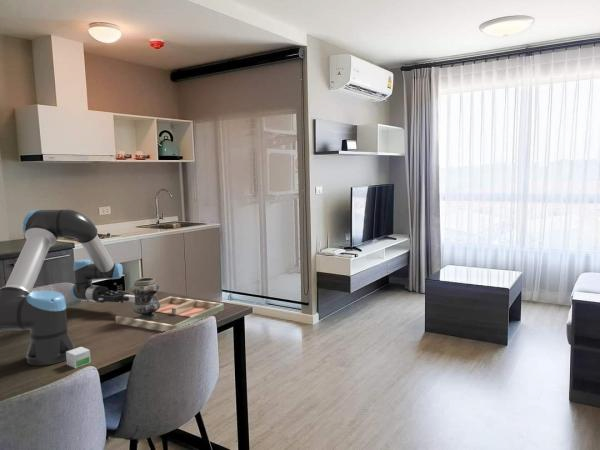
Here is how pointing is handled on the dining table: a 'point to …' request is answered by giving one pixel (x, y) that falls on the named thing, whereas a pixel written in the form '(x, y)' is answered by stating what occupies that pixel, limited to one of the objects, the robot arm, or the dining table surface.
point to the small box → (78, 357)
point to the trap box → (176, 313)
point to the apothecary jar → (145, 298)
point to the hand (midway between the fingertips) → (135, 299)
